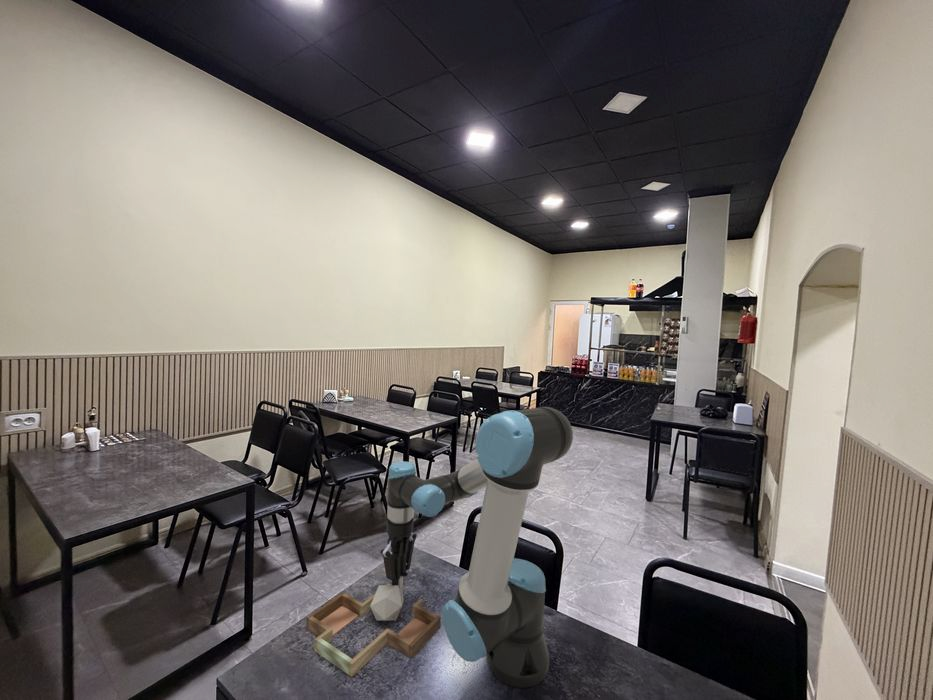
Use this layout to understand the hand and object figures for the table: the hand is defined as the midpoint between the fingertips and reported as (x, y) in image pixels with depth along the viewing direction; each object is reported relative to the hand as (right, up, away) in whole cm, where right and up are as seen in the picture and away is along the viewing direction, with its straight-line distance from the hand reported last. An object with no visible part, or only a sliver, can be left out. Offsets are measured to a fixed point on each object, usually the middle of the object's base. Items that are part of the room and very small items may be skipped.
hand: (397, 598), depth 110 cm
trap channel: (-5, -3, -8) cm, 10 cm away
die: (-2, -3, -4) cm, 5 cm away
